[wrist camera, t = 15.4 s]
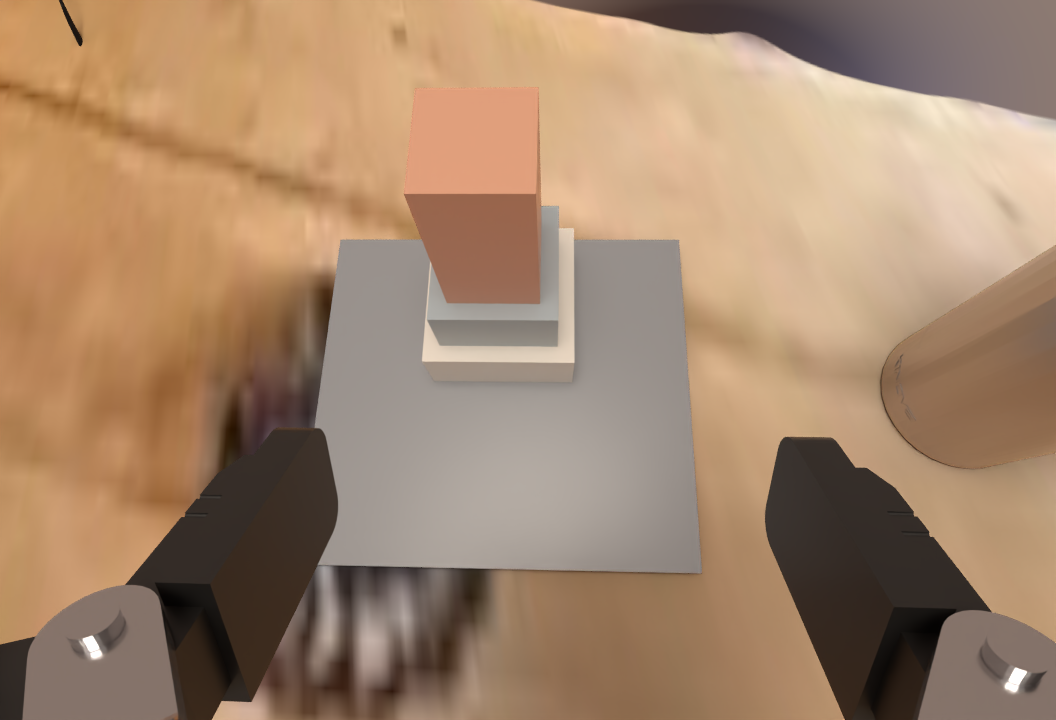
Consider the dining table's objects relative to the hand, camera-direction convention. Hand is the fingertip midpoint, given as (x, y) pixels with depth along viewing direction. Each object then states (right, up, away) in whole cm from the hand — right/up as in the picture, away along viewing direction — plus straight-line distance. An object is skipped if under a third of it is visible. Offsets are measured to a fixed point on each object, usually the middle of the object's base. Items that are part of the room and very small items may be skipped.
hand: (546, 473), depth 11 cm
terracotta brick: (-2, +7, +22) cm, 23 cm away
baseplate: (-2, 0, +29) cm, 29 cm away
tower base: (-2, +5, +30) cm, 30 cm away
